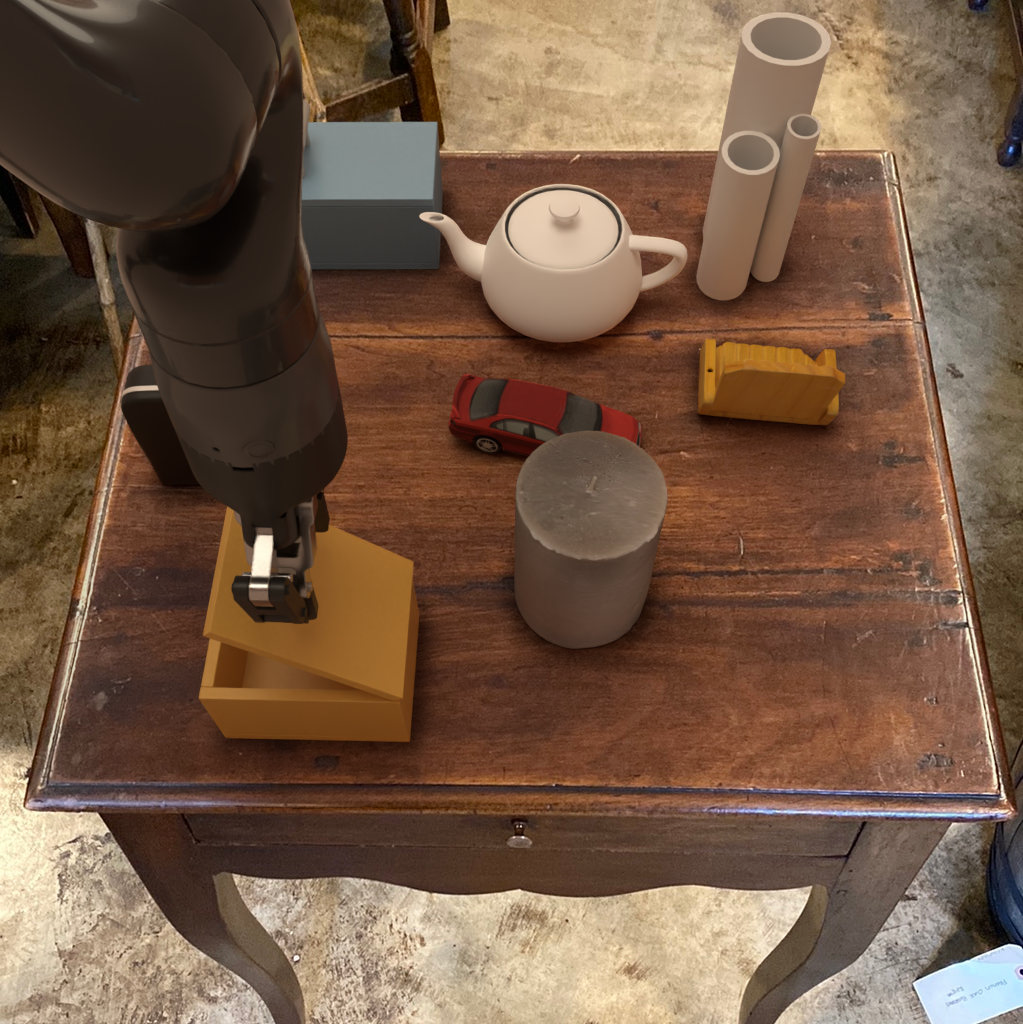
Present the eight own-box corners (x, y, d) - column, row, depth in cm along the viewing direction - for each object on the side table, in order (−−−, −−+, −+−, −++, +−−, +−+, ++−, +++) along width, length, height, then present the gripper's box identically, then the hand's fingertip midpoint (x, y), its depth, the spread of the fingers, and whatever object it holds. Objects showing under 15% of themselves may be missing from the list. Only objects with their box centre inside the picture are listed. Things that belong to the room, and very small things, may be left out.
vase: (704, 206, 99) (742, 7, 82) (782, 215, 99) (838, 17, 82) (693, 297, 94) (732, 103, 76) (777, 307, 93) (835, 114, 76)
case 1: (297, 269, 96) (282, 207, 89) (308, 194, 100) (294, 129, 94) (439, 269, 95) (433, 207, 89) (442, 193, 100) (438, 129, 94)
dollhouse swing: (824, 356, 90) (854, 279, 82) (829, 449, 85) (860, 377, 77) (699, 346, 91) (716, 268, 83) (696, 437, 86) (714, 364, 78)
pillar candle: (558, 512, 82) (566, 392, 69) (670, 574, 79) (700, 461, 67) (487, 608, 78) (482, 499, 65) (603, 677, 75) (621, 577, 62)
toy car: (468, 392, 88) (465, 352, 84) (645, 438, 86) (651, 400, 82) (445, 444, 86) (441, 406, 81) (626, 494, 83) (632, 458, 79)
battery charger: (252, 445, 86) (218, 353, 76) (247, 485, 84) (212, 396, 74) (165, 447, 86) (119, 355, 76) (158, 487, 84) (110, 398, 74)
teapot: (680, 251, 96) (697, 155, 87) (675, 370, 89) (693, 279, 80) (437, 232, 98) (429, 135, 89) (414, 348, 91) (402, 256, 82)
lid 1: (272, 206, 89) (260, 158, 85) (285, 129, 94) (274, 80, 90) (433, 206, 89) (429, 158, 85) (437, 129, 94) (434, 80, 90)
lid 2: (202, 636, 59) (250, 608, 56) (230, 488, 64) (276, 455, 61) (395, 702, 67) (447, 680, 63) (406, 565, 71) (455, 539, 68)
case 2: (225, 738, 73) (198, 698, 67) (246, 611, 78) (223, 563, 72) (409, 742, 73) (399, 702, 67) (419, 614, 78) (410, 566, 72)
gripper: (196, 267, 51) (258, 464, 66) (134, 526, 44) (220, 684, 58) (353, 273, 51) (381, 468, 66) (318, 532, 44) (358, 688, 58)
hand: (305, 569), depth 62 cm, fingers closed on lid 2, 5 cm apart
